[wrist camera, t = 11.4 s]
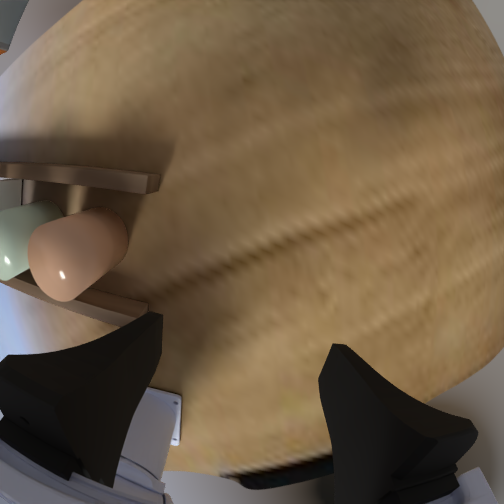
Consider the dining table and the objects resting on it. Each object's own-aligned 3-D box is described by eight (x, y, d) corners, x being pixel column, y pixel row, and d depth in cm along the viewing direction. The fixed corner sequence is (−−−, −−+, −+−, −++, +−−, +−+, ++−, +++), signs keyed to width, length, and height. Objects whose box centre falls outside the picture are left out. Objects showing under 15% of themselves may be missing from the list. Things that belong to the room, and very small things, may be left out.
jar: (128, 272, 21) (88, 309, 15) (78, 263, 21) (32, 292, 14) (129, 209, 20) (82, 227, 13) (77, 204, 19) (25, 220, 13)
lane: (147, 315, 22) (132, 339, 18) (-14, 262, 21) (-34, 272, 17) (160, 174, 19) (141, 176, 15) (-15, 161, 18) (-38, 164, 14)
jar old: (66, 260, 21) (20, 287, 14) (30, 249, 20) (-16, 272, 14) (67, 203, 19) (14, 217, 13) (29, 197, 19) (-21, 209, 13)
